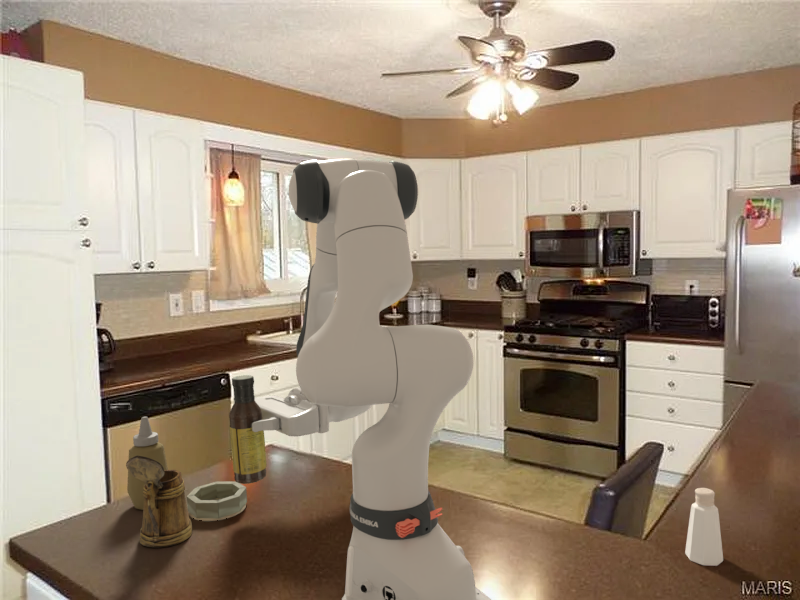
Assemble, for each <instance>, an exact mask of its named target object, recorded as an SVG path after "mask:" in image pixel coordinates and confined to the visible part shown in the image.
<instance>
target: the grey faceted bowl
mask: <svg viewBox="0 0 800 600" xmlns="http://www.w3.org/2000/svg"><path fill="white" fill-rule="evenodd" d="M247 492H248V491H247V486H245V485H244V484H241V483H238V482H236V481H235V480H234V481H231V480H230V481H229V480H228V481H213V482H210V483H207V484H206V483H205V484H202V485H200V486H199V485H198V486H196V487H195V488H194V489H192V490H191V491H190V493H189V494H187V496H186V503H187V509H188V514H189V518H190V519H193V518H194V519H193V520H194V521H195V520H196V521H199V520H202V521H201V522H216V521H217V520H218V521H223V520H226V518H227V519H230V518H232V517H235V516H237V515H239V514H241V513H243V511H244V510H245V509H246V507H247V502H248V497H247V495H248V494H247Z"/></svg>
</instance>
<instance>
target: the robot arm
mask: <svg viewBox="0 0 800 600" xmlns="http://www.w3.org/2000/svg"><path fill="white" fill-rule="evenodd" d="M288 196H289V200H290V201H289V202H290V204H291V207H292V209H293V210H294V215H296V216H297V217H298V218H299V219H300V220H301V221H303V222H307V223H311V224H316V232H315V233H316V236H315V258H314V263H313V265H311V268H310V270H309V274H308V280H307V284H306V285H307V287H306V293H305V294H306V295H305V304H304V312H303V313H304V314H303V323H302V327H301V331H300V333H299V336H298V338H297V342H296V347H295V348H296V349H295V350H296V357H297V358H296V365H295V373H296V380H297V383H298V387H295V388H292V389H291V390H290V391H289V393H288V394H287V395H286V396H285V398H284V397H282V396H280V395H274V394H273V395H271V394H270V395H263V396H257V397H256V396H255V402H256V403H257V404H258V405H259V407H260V409H261V411H262V417H263V420H255V421H251V422H250V430H252V431H254V432H258V431H262V430H263V431H264V432H265V431H276V432H279V433H281V434H284V435H285V436H288V437H301V436H302V437H303V436H308V435H312V434H316V433H318V434H325V433H328V432H329V431H330V423H332V422H333V423H339V422H344V421H346V420H350V419H353V418H357V417H358V416H360V415H362V414H364V413H366V412H368V410H370V409H371V407H372V406H374V405H385V404H388V407H387V410H386V412H385V413H384V414H383V416H382V417H381V418H380V419H379V420H378V421H377V422H375V423H374V424H373V425H370V427H368V428H366V429H365V430H363V432H362V433H360V435H359V436H358V437H357V439H355V442H354V444H353V447H352V449H351V470H352V471H351V472H352V493H351V495H350V501H349V502H350V504H349V514H350V522H351V524H352V527H353V528H352V533H351V536H350V537H351V538H350V541H349V545H348V547H347V553H346V554H347V555H346V557H347V558H346V571H345V587H344V594H343V596H342V597H341V600H492V598H490V597H489V596H488V595H487V594H485V593H484V592H482V591H481V590H480V589H479V588H478V587H476V582H475V581H476V580H475V576H474V572H473V571H474V570H473V568H472V565H471V563H470V561H469V559H467V558H466V554H465V551H464V548H462V546H460V545H456V544H455V543H454V542H453V540H452V539H451V538H450V537H449V535H448V534H447V533H446V532H445V531H444V529H443V528H442V527H441V525H440V524H439V517H441V516H443V513H440V512H441V511H443V507H438V508H436V507H435V504H434V500H433V498H432V495H431V492H430V491H429V457H430V456H429V455H430V444H431V439H432V436H433V432H434V429H435V427H436V425H437V422H438V420H439V419H440V416H441V414H442V413H443V412H444V411H445V408H446V407H447V406H448V404H449V403H450V402H451V401H452V400H453V399H454V398H455V397H456V396H457V395H458V394H459V393H460V392H462V391H463V390H464V389H465V388H466V386H467V385H468V384H469V381H470V379H471V377H472V374H473V369H474V355H473V350H472V347H471V345H470V343H469V341H468V339H467V337H466V336H465V335H464V334H463V332H461V331H460V330H459V329H457V328H454V327H449V326H443V325H436V324H435V325H433V324H427V323H426V324H415V325H414V324H412V325H396V326H395V325H394V326H383V325H380V324H381V323H380V312H381V311H383V310H385V309H387V308H388V307H391V306H392V305H393V304H395V303H397V302H398V301H400V300H401V299H403V298H404V297H405V296H406V295H407V294H408V292H409V291H410V289H411V287H412V284H413V279H414V273H413V266H412V259H411V251H410V247H409V245H410V243H409V238H408V231H407V225H406V221H405V220H407V219H409V218H410V217H411V216H412V214H413V213H414V212H415V210H416V208H417V205H418V204H417V203H418V199H419V185H418V181H417V177H416V174H415V172H414V170H413V169H412V168H411V166H410V165H409V164H406V163H403V162H399V161H394V160H389V162H387V161H382V160H381V161H380V160H374V159H373V160H371V159H356V158H334V159H333V158H332V159H325V160H317V159H310V160H305V161H302V162H299V163H297V165H296V166H295V167H294V168H293V171H292V175H291V177H290V180H289V184H288Z"/></svg>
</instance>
